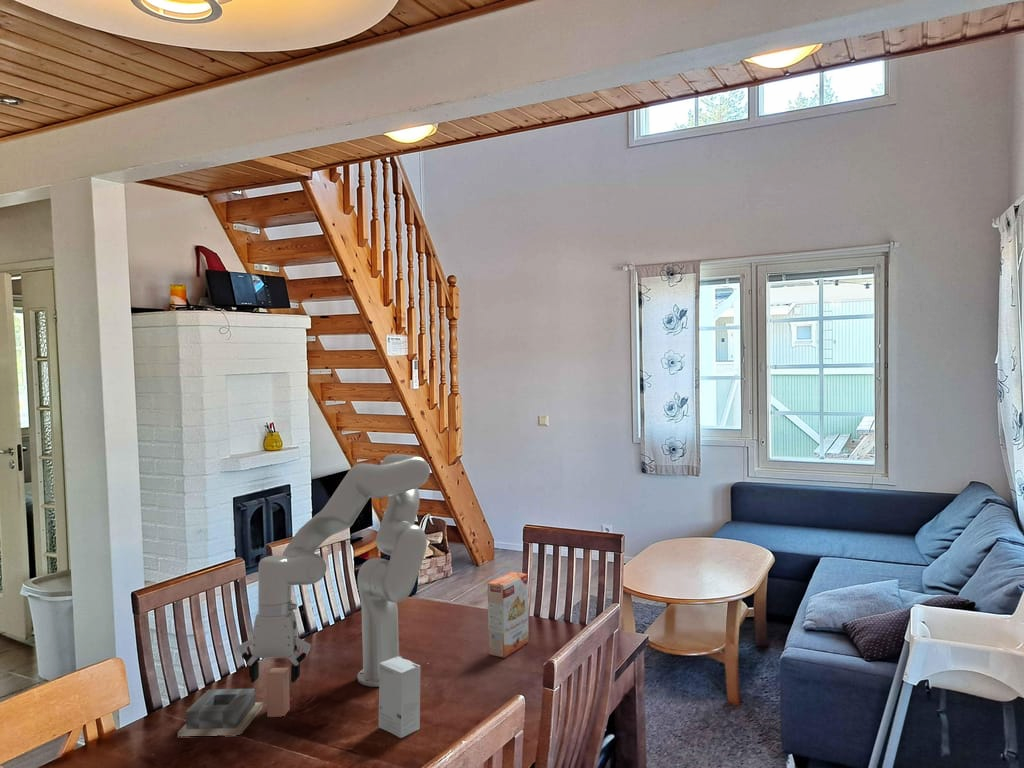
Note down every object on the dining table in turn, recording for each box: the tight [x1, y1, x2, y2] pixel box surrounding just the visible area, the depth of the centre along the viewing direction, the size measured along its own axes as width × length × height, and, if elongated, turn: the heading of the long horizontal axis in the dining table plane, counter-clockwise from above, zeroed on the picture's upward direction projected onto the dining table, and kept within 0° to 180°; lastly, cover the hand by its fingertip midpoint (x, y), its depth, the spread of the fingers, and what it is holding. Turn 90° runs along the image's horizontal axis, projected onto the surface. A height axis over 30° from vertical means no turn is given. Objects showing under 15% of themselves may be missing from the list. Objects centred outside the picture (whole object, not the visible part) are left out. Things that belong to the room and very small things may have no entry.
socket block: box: [177, 688, 264, 738], centre depth 163 cm, size 14×14×5 cm
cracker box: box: [487, 571, 530, 659], centre depth 203 cm, size 14×6×21 cm, turn 148°
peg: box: [265, 667, 291, 718], centre depth 167 cm, size 4×4×10 cm
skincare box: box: [378, 657, 421, 739], centre depth 157 cm, size 8×6×15 cm
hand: (274, 680), depth 166 cm, fingers open, 9 cm apart
